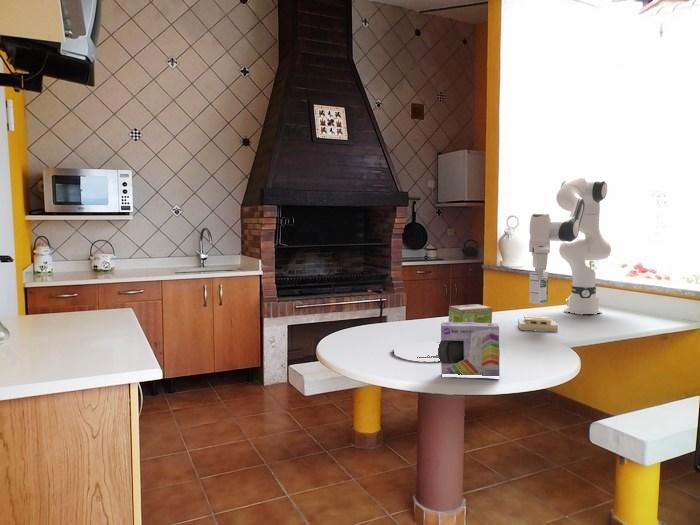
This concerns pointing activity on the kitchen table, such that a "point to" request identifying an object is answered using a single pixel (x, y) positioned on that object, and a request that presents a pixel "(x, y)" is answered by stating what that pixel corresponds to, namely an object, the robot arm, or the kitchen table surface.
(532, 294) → the syrup box
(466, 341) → the cake pan box
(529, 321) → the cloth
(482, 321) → the tea box
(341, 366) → the kitchen table surface
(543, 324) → the dock
